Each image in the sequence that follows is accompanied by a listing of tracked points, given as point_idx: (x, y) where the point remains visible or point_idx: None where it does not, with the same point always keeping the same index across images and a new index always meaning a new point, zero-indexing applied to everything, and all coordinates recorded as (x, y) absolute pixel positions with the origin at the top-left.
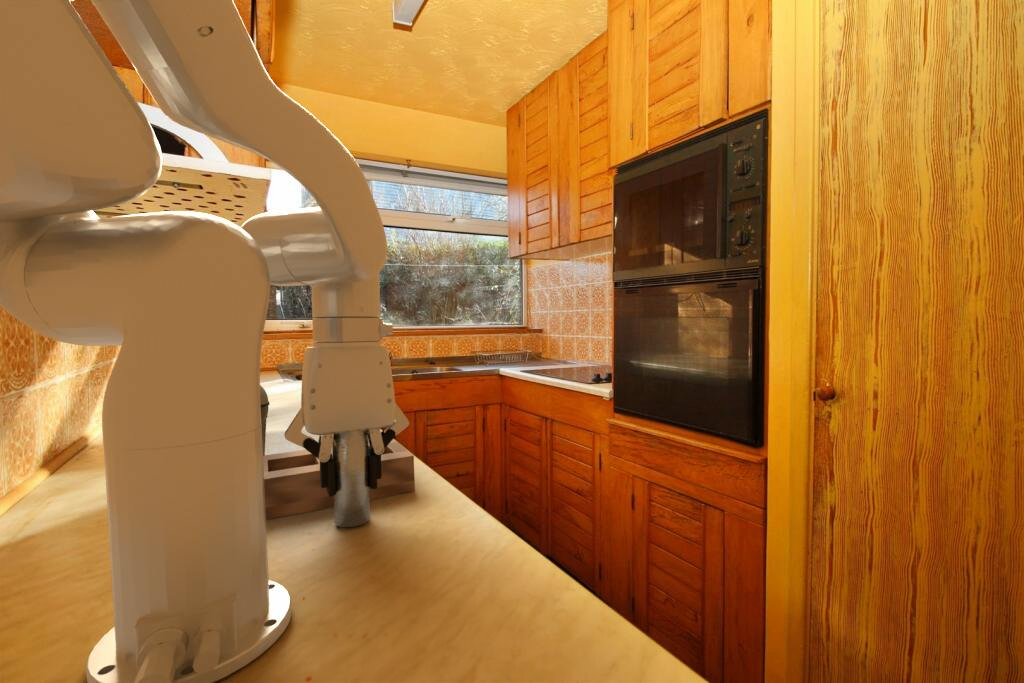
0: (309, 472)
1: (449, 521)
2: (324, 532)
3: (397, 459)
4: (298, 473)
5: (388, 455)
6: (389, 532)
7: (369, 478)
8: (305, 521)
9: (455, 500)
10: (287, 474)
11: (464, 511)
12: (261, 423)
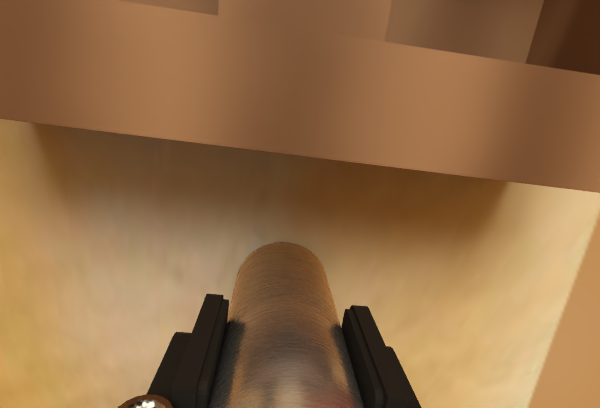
0: (156, 135)
1: (459, 389)
2: (210, 290)
3: (555, 185)
4: (104, 125)
5: (560, 110)
6: None
7: None
8: (176, 193)
9: (548, 298)
10: (51, 106)
11: (516, 364)
12: None
